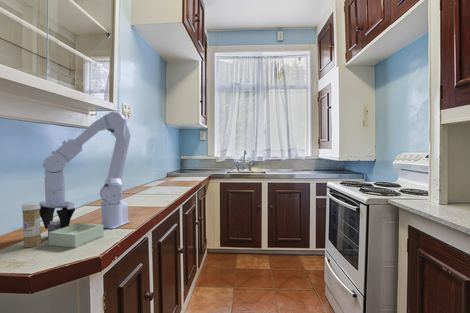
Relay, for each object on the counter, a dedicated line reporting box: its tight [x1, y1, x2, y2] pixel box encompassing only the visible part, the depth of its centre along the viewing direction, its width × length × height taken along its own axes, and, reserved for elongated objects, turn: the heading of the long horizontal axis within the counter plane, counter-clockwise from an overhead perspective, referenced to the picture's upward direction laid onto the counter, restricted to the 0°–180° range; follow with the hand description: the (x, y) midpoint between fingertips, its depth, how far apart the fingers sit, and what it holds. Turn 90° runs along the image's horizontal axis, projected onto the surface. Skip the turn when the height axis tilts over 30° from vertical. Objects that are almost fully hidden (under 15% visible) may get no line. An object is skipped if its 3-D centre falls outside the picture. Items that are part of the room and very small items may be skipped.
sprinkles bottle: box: [21, 201, 42, 248], centre depth 85 cm, size 5×5×14 cm
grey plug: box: [47, 218, 61, 239], centre depth 94 cm, size 4×4×6 cm
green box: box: [47, 222, 105, 249], centre depth 88 cm, size 11×11×4 cm
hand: (56, 228), depth 94 cm, fingers open, 7 cm apart
